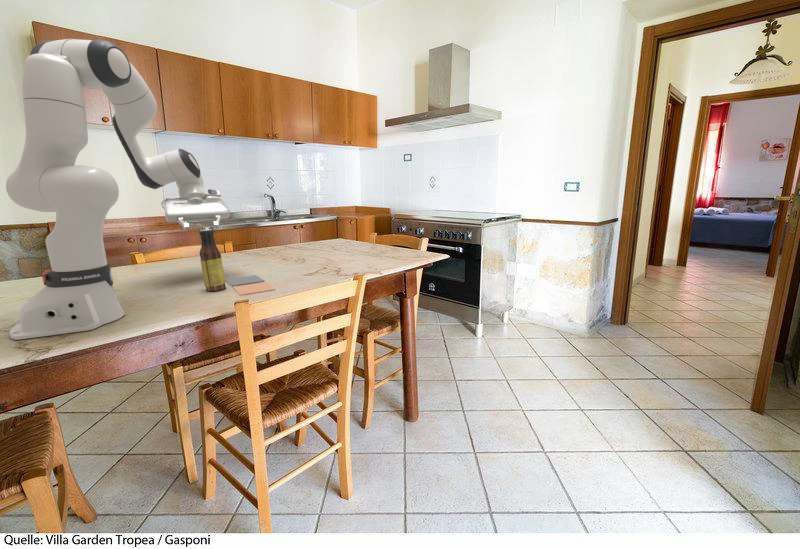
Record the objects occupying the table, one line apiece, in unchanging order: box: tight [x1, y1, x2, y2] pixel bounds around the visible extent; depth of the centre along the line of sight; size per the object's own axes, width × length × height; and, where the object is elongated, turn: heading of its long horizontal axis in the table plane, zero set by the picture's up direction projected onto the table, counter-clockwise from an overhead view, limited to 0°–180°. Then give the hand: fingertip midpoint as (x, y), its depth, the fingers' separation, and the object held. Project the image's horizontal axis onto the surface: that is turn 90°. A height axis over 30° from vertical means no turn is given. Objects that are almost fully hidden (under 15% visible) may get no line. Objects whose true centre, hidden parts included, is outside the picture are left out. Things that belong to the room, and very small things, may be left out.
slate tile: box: [225, 274, 266, 288], centre depth 140 cm, size 11×11×1 cm
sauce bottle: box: [198, 228, 227, 292], centre depth 127 cm, size 7×6×20 cm
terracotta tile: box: [232, 281, 276, 297], centre depth 129 cm, size 11×11×1 cm
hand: (202, 227), depth 134 cm, fingers open, 8 cm apart
